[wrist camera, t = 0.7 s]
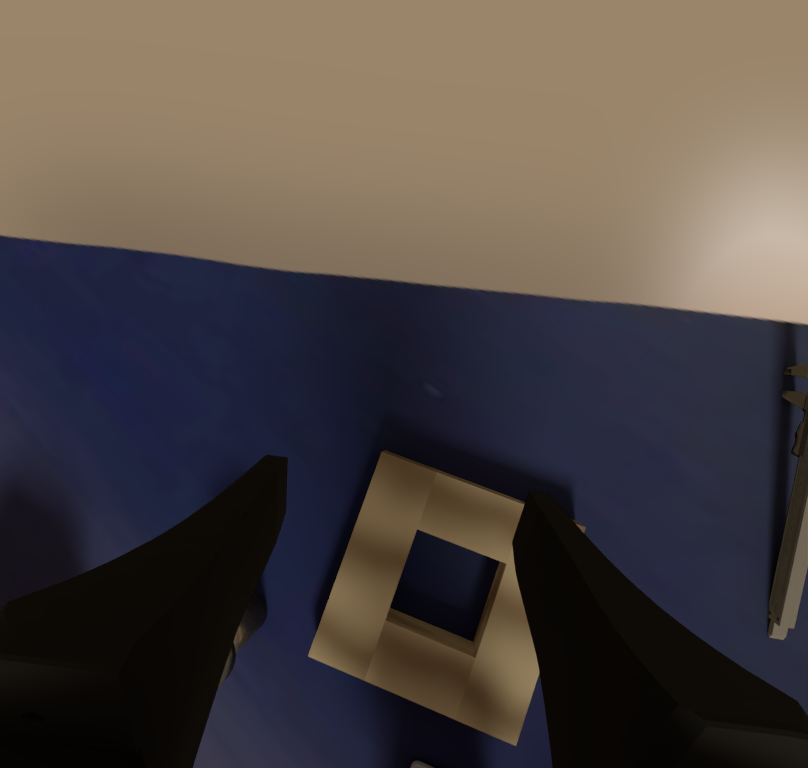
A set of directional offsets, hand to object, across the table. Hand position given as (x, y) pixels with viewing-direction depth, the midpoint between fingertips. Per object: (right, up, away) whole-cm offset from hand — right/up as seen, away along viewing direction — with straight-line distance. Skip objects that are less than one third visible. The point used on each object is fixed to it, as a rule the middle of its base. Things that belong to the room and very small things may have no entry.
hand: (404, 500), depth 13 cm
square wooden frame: (+3, -12, +22) cm, 25 cm away
